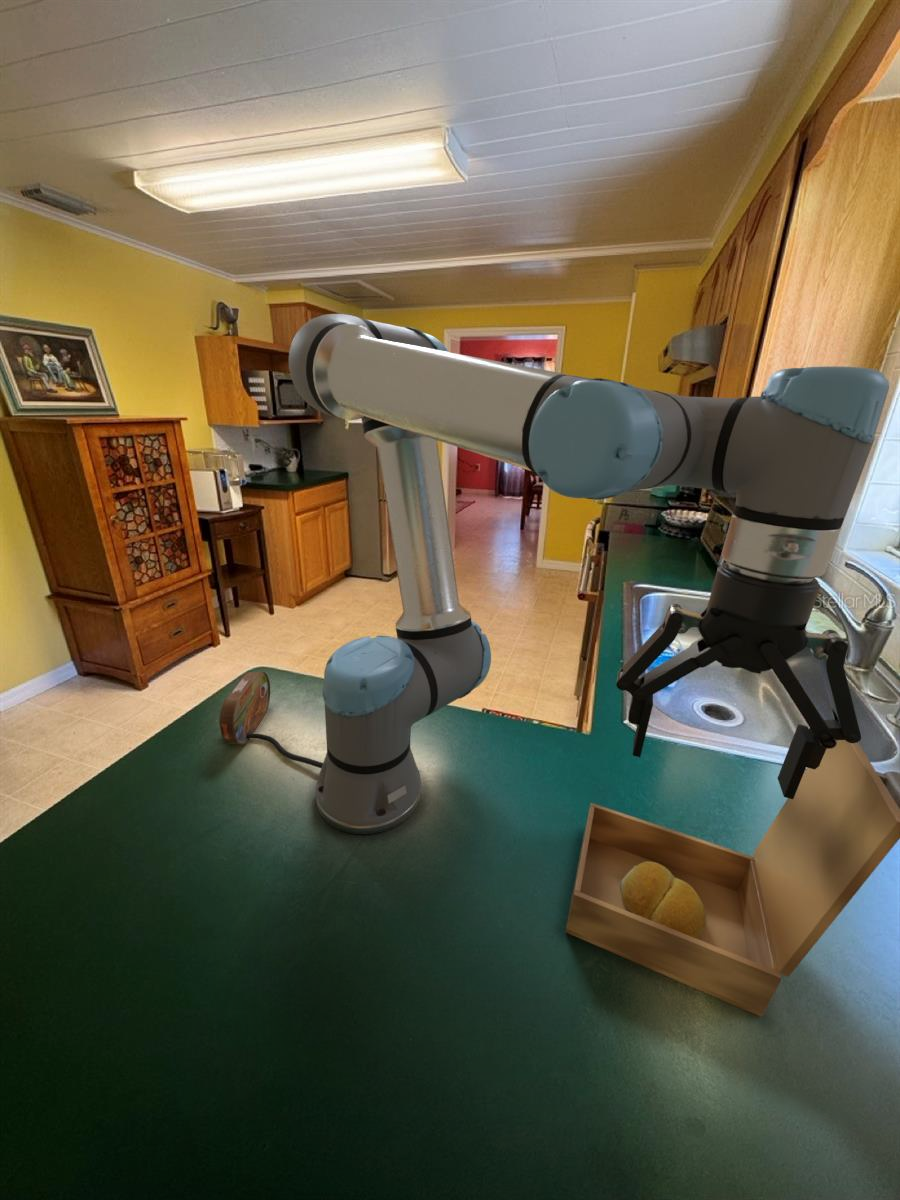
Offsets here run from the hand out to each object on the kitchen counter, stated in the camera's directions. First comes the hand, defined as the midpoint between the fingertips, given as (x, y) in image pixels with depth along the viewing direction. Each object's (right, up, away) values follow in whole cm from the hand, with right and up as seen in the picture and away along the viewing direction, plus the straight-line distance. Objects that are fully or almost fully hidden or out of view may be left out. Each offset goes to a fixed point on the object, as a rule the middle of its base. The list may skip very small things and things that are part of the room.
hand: (707, 768), depth 48 cm
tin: (-62, -5, +35) cm, 71 cm away
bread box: (-2, -20, +7) cm, 21 cm away
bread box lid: (+9, -6, -2) cm, 11 cm away
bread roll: (-2, -19, +7) cm, 21 cm away
